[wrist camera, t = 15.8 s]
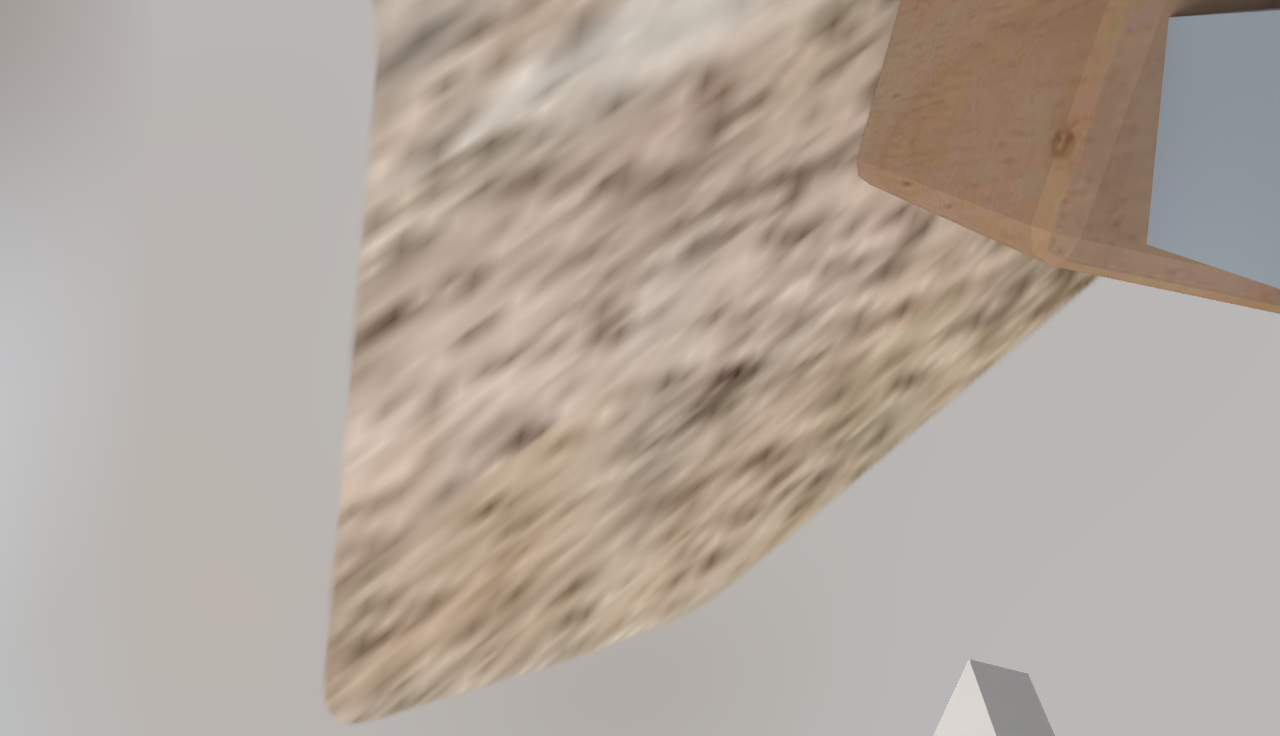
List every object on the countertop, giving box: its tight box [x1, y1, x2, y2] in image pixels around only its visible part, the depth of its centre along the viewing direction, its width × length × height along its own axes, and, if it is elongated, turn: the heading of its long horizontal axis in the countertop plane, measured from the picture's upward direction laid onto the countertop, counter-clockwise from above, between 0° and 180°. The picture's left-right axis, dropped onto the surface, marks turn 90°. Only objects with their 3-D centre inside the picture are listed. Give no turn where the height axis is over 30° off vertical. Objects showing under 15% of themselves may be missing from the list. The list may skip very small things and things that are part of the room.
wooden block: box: [857, 0, 1280, 314], centre depth 35 cm, size 10×10×20 cm
